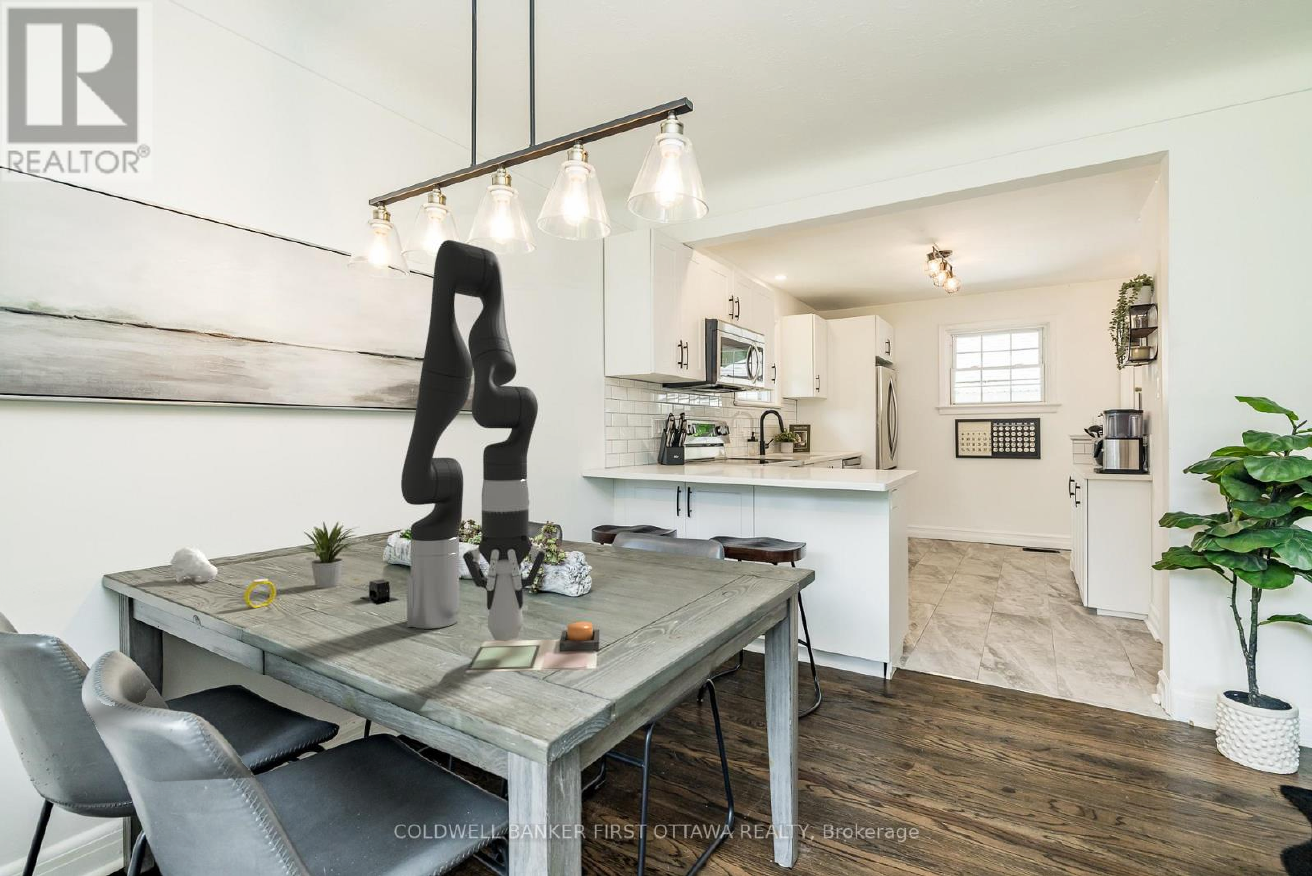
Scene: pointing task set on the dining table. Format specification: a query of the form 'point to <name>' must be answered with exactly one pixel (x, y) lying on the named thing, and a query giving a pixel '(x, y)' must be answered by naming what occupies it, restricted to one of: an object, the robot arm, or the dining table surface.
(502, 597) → the salt shaker
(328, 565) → the house plant
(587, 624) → the button
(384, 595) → the black short block
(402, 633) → the dining table surface
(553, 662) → the picture board
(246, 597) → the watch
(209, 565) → the white fluffy lump
